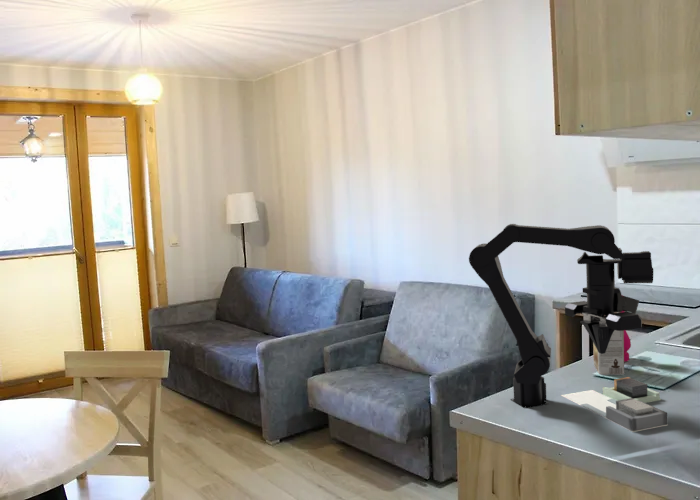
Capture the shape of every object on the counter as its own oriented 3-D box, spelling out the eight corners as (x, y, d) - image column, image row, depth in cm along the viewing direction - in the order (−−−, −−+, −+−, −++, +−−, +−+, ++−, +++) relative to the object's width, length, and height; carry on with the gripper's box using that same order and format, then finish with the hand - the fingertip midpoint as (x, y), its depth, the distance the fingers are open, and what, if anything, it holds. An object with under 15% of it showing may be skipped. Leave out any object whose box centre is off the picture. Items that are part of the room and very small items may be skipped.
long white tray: (632, 434, 125) (632, 419, 125) (560, 397, 148) (560, 384, 148) (668, 427, 128) (668, 412, 127) (592, 392, 151) (591, 379, 150)
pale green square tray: (627, 408, 139) (627, 399, 139) (601, 395, 148) (601, 387, 148) (661, 402, 142) (661, 393, 141) (633, 390, 150) (633, 381, 150)
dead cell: (636, 426, 128) (636, 410, 127) (616, 416, 133) (616, 400, 133) (652, 423, 129) (652, 407, 128) (632, 413, 135) (631, 398, 134)
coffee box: (592, 366, 171) (591, 308, 169) (617, 366, 169) (616, 307, 168) (599, 376, 162) (597, 315, 160) (625, 377, 160) (624, 315, 159)
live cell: (632, 402, 141) (632, 386, 141) (614, 394, 147) (614, 379, 147) (647, 399, 142) (647, 384, 142) (628, 391, 148) (628, 377, 148)
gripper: (663, 285, 131) (664, 358, 132) (603, 274, 149) (605, 339, 150) (617, 291, 128) (619, 366, 129) (562, 279, 146) (564, 345, 147)
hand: (602, 353), depth 139 cm, fingers closed
